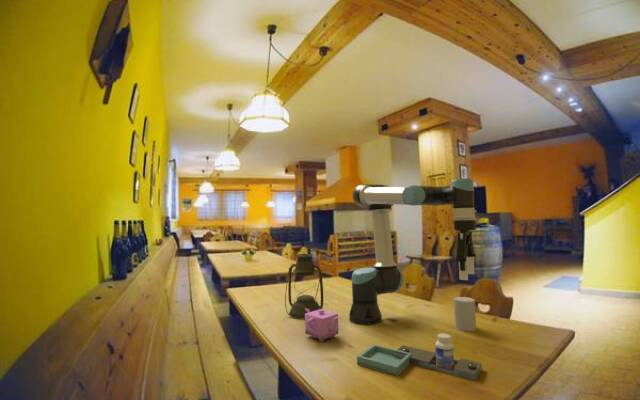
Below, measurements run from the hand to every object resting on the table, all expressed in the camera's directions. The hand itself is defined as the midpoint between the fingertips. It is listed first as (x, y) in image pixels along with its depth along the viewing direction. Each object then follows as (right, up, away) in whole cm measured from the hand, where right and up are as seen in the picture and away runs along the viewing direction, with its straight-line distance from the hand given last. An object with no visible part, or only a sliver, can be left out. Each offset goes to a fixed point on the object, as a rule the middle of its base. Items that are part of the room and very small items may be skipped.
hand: (467, 276), depth 118 cm
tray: (-33, -25, -14) cm, 44 cm away
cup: (+7, -26, +17) cm, 32 cm away
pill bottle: (-15, -25, -17) cm, 34 cm away
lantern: (-62, -29, +43) cm, 81 cm away
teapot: (-54, -27, +10) cm, 61 cm away
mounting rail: (-17, -24, -16) cm, 34 cm away
